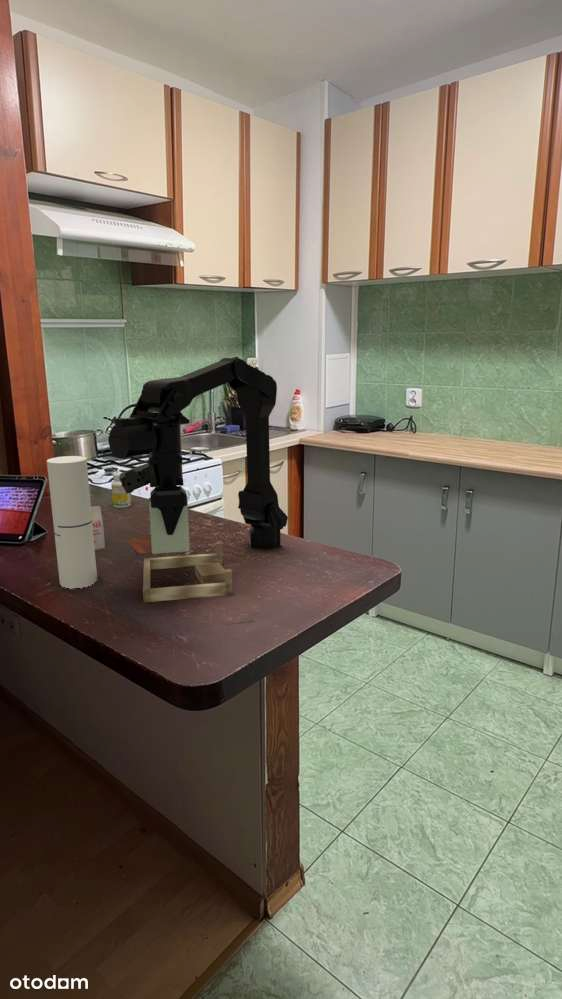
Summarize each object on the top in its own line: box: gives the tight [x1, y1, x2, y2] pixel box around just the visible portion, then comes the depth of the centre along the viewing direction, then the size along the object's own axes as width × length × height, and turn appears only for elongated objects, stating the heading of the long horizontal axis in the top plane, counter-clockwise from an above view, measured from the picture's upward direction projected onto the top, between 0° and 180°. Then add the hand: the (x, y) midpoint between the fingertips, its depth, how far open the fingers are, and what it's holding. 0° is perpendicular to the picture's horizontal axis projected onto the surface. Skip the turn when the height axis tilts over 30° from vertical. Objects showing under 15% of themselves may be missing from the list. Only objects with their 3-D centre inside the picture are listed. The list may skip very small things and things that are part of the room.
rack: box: [142, 541, 233, 603], centre depth 117 cm, size 16×17×6 cm
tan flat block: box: [194, 563, 226, 584], centre depth 119 cm, size 5×6×2 cm
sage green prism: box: [148, 497, 191, 555], centre depth 114 cm, size 7×4×10 cm, turn 102°
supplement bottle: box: [111, 471, 132, 509], centre depth 175 cm, size 5×5×10 cm
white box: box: [91, 505, 106, 551], centre depth 139 cm, size 4×7×10 cm, turn 118°
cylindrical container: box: [46, 455, 98, 590], centre depth 118 cm, size 7×7×25 cm
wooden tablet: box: [129, 533, 152, 554], centre depth 138 cm, size 27×10×2 cm, turn 27°
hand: (169, 531), depth 115 cm, fingers closed on sage green prism, 3 cm apart
